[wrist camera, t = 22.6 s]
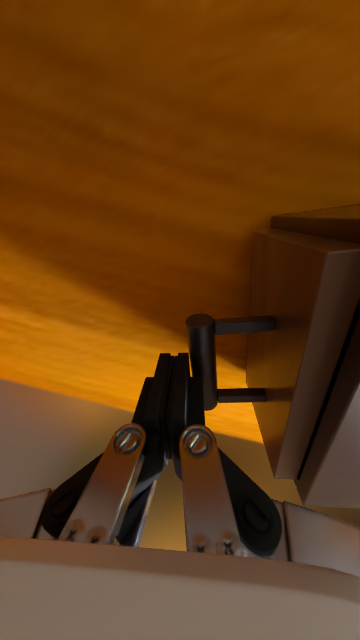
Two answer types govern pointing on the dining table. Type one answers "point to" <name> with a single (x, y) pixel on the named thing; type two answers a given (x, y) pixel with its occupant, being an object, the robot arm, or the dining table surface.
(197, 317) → the drawer
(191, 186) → the dining table surface
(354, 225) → the cabinet
